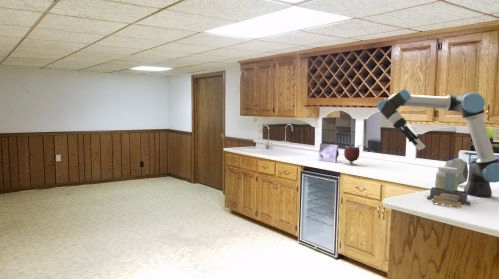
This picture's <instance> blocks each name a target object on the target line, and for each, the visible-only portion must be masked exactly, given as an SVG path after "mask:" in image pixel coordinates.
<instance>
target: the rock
mask: <svg viewBox="0 0 499 279" xmlns="http://www.w3.org/2000/svg"><path fill="white" fill-rule="evenodd" d="M443 167H452V168H457V169H458V172H457V173H458V175H459V178H458V186H459V185H462V184H464V183H467V182H468V177H469V168H468V163H467V161H465V160H463V159H462V158H459V157H456V158H454V159H452V160H447V161H446V162H445V165H444V166H443Z"/></svg>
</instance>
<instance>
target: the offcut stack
mask: <svg viewBox="0 0 499 279" xmlns="http://www.w3.org/2000/svg"><path fill="white" fill-rule="evenodd" d="M458 199H459V196H457V195H451V194H445V193H442V194H440V196H435V195H434V198H433V200H432V203H438V204H444V205H443V206H445V205H451V206H456V207H455V208H458V207H460V206H462V204H461V202H458ZM438 204H437V205H438ZM451 206H450V207H451ZM460 208H461V207H460Z"/></svg>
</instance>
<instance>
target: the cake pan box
mask: <svg viewBox="0 0 499 279" xmlns="http://www.w3.org/2000/svg"><path fill="white" fill-rule="evenodd" d="M318 151H319V152H318V161H319V162H326V163H334V164H337V162H338V157H339V154H340V153H339V152H340V151H339V144H332V143H331V144H330V143H319V149H318Z"/></svg>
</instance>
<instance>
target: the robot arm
mask: <svg viewBox="0 0 499 279" xmlns="http://www.w3.org/2000/svg"><path fill="white" fill-rule="evenodd" d="M485 106H486V101H485V98H484V97H483V95H481V94H480V93H478V92H467V93H466V92H465V93H461V94H453V95H451V94H450V95H449V94H448V95H446V96H442V95H440V96H439V95H423V94H422V95H420V94H411V93H410V92H409V91H408V90H407V89H405V88H402V89H400V90H399V91H397V92H396V93H391V95H389V97H388V98H387V99H386V98H383V99H382V100H380V101H379V102H378V103H377V104H376V108H377V110H378V111H379V113H380V114H381V115H383V117H384V118H385V119H386V120H387V123H388V124H389V123H390V124H391V125H392V127H393V128H394V129H395V130H396V131H398V130H400V132H402V133H403V134H404V136H405V137H406V138H407V140H408V143H412V145H413V146H414V147H415V148H416V149H417V151H421V150H423V149H425V148H426V145H425V144H424V143H423V142H422V141H421V139H419V138H420V136H418V135H416V134H415V133H414V131H412V130H411V129H410V128H409V127H408V125H406V123H407V122H408V121H407V120H406V119H405V117H403V115H402V114H401V113H400V112H399V111H398V109H399V108H400V107H409V108H411V107H412V108H427V109H428V108H429V109H443V110H445V111H449V112H456V113H460V114H461V118H462V119H464V120H466V124H467V127H468V130H469V133H470V137H471V140H472V144H473V147H474V150H475V153H476V156H477V157H471V158H470V159H469V163H468V164H469V168H468V178H467V181H466V185H465V186H464V189H463V191H465V192H468V194H467V196H468V195H469V196H473V197H475V196H476V197H481V198H483V197H484V198H492V197H493V191H492V188H491V185H490V184H491V183H498V182H499V156H497V155H495V153H494V149H493V146H492V143H491V139H490V137H489V136H490V135H489V132H488V130H487V126H486V122H485V120H484V114H485V109H484V107H485Z"/></svg>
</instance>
